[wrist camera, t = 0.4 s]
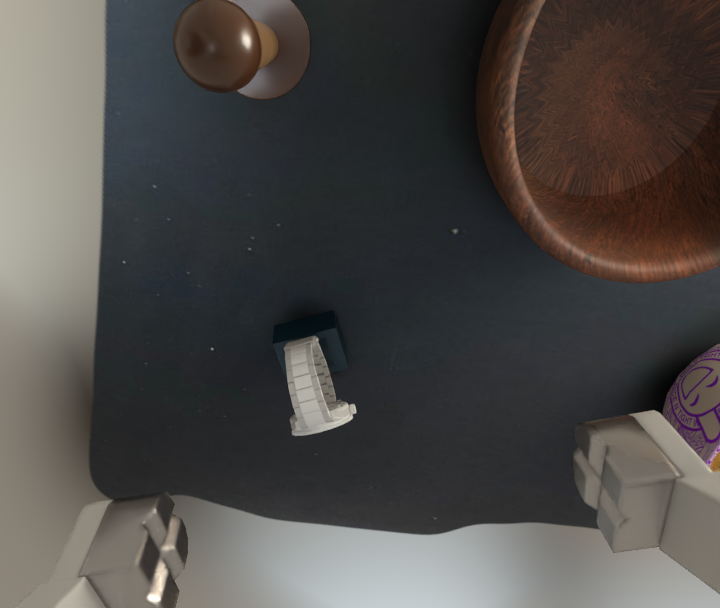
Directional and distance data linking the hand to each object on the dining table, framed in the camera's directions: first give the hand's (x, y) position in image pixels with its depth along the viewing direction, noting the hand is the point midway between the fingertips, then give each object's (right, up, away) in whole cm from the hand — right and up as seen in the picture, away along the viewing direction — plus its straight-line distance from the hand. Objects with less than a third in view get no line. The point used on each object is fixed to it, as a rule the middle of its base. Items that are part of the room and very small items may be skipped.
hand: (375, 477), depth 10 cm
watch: (-5, 0, +37) cm, 37 cm away
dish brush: (-7, +22, +25) cm, 34 cm away
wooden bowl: (+19, +21, +29) cm, 40 cm away
